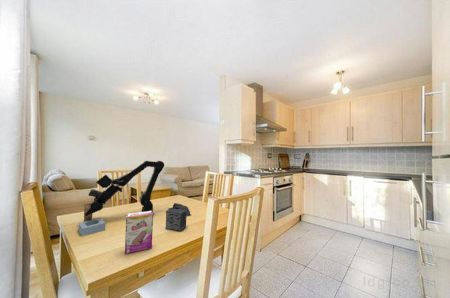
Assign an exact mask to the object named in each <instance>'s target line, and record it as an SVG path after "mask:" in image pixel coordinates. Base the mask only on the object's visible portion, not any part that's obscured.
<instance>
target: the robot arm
mask: <svg viewBox="0 0 450 298" xmlns="http://www.w3.org/2000/svg"><path fill="white" fill-rule="evenodd" d="M149 167H150V168H153V171H152V172H153V173H152V174H151V177H150V178H149V179H150V180H149V181H148V184H147V186H146V188H145V191H144V192H141V194H140V197H139V203H140V205H141V206H142V208H141V212H146V211H152V212H153V215H155V213H154V204H153V202H152V201H151V198H152V193H153V190H154V187H155V186H156V182H157V180H158V177H159V175H160V173H162V171H163V170H164V168H165V163H164V162H163V161H161V160H157V161H151V160H144V161H143V163H141V164H139V165H138V166H136V167H135V168H134V169H132V170H130V171H129V172H128V173H126V174H124V175H121V176H119V177H118V178H114V179H112V178H110V177H109V176H108V175H107V174H104V175H103V176H101V177H100V178H99V179H97V181H95V183H96V185H99V186H100V187H101V188H102V189H105V190H102V191H100V190H97V189H94V188H93V189H92V188H91V189H90V191H89V193H88V196H89V197H94V198H93V201H92V202H90V203H91V208H90V209H89V210H88V211H87V212H86V214H85V216H88V215H90V214H92V215H93V214H95V213H97V212H99V211H102V210H103V208H104V205H105V204H106V203H107V202H108V201H109V200H111V199H112V197H113V196H114V195H116V194H117V193H118V192H120V193H123V187H125V186H126V185H127V184H128V183H129V182H130V181H131V180H132V179H133V178H134V177H135V176H137V175H138V174H140V173H141V172H142V171H144V170H145V169H146V168H149Z"/></svg>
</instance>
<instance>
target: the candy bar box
mask: <svg viewBox="0 0 450 298" xmlns="http://www.w3.org/2000/svg"><path fill="white" fill-rule="evenodd" d="M153 213H154V211H153V212H152V211H146V212H142V211H141V212H140V211H139V212H132V213H131V212H130V213H126V217H125V218H126V220H125V239H124V255H128V254H134V253H138V252H141V251H142V252H143V251H147V250H150V249H152V248H153V231H154V229H153V226H154V225H153V224H154V214H153Z"/></svg>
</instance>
